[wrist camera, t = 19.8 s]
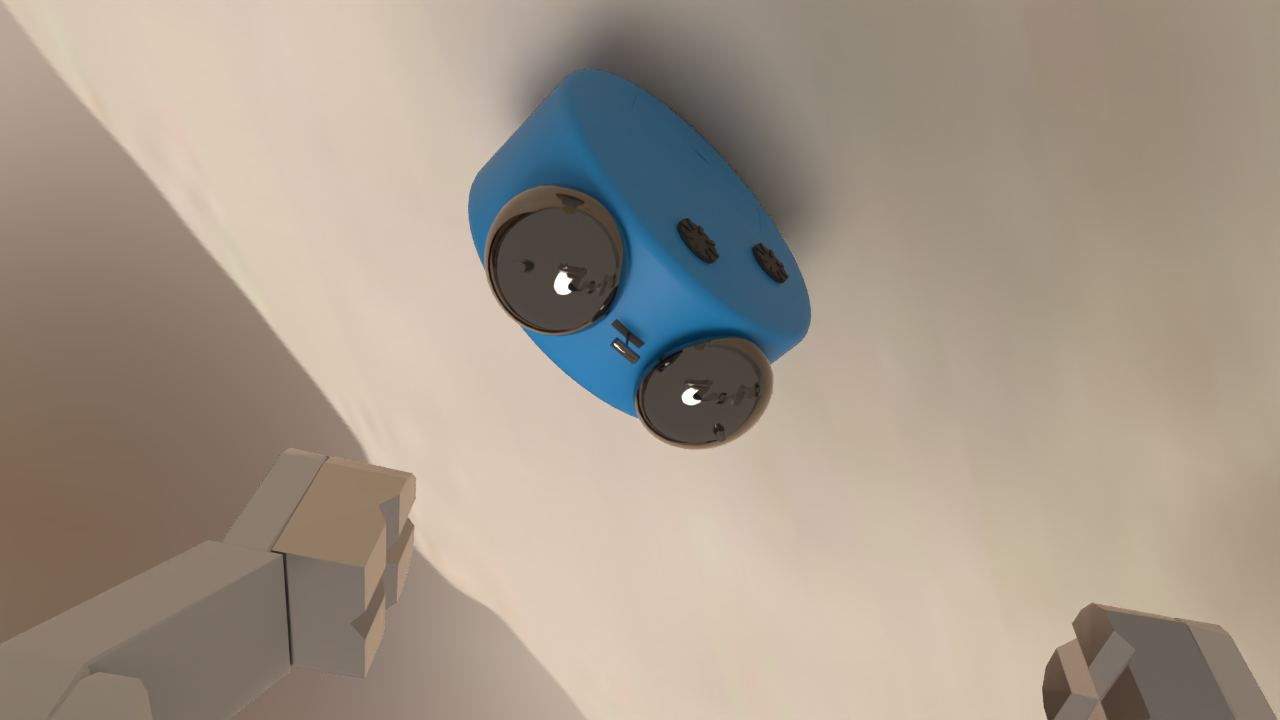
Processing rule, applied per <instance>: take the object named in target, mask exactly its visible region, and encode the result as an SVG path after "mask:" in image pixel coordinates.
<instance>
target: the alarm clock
mask: <svg viewBox="0 0 1280 720" xmlns="http://www.w3.org/2000/svg"><path fill="white" fill-rule="evenodd" d="M468 213H469V223H470V229H471V233H472V237H473V241H474V244H475V247H476V250H477V252H478V255H479V258H480V260H481V262H482V264H483V267H484V269H485V272H486V276H487V281H488V284H489V286H490V289H491V291H492V294H493V296H494V297H495V299H496V301H497V302H498V304H499V306H500V307H501V308H502V309H503V310H504V312H505V313H506V314H507V315H508V316H509V317H510V318H512V319H513V320H514V321H515V322H516V323H518V324H519V325H520V326H521V327H522V328H523V330H524V331H525V332H526V333H527V334H528V336H529V337H530V338H531V339H532V340H533V341H534V343H535V344H536V345H537V346H538V347H539V348H540V349H541V350H542V351H543V352H544V353H545V354H546V355H547V356H548V357H549V358H550V359H551V360H552V361H553V362H554V363H555V364H556V365H557V366H558V367H559V368H560V369H562V370H563V371H564V372H565V373H566V374H567V375H568V376H570V377H571V378H572V379H573V380H575V381H576V382H577V383H578V384H580V385H581V386H582V387H584V388H585V389H586V390H588V391H589V392H591V393H592V394H594V395H595V396H597V397H598V398H599V399H601V400H603V401H604V402H606V403H608V404H609V405H611V406H613V407H615V408H617V409H619V410H621V411H622V412H624V413H627V414H629V415H631V416H634V417H636V418H639V419H640V421H641V423H642V424H643V426H644V427H645V428H646V429H647V430H648V431H649V432H650V433H651V434H652V435H653V436H654V437H655V438H657V439H659V440H660V441H662V442H664V443H666V444H668V445H671V446H675V447H679V448H683V449H690V450H699V449H709V448H714V447H718V446H722V445H724V444H727V443H729V442H731V441H733V440H735V439H737V438H739V437H740V436H742V435H743V434H745V433H746V432H747V431H749V430H750V429H751V428H752V427H753V426H754V425H755V424H756V423H757V422H758V421H759V419H760V418H761V417H762V415H763V414H764V412H765V410H766V409H767V407H768V404H769V401H770V398H771V395H772V393H773V372H772V369H771V364H772V363H773V362H774V361H776V360H777V359H778V358H780V357H781V356H782V355H784V354H785V353H786V352H788V351H789V350H790V349H792V348H793V347H794V346H796V345H797V344H798V343H799V342H800V341H801V340H802V339H803V338H804V337H805V335H806V334H807V332H808V328H809V325H810V321H811V308H810V301H809V296H808V292H807V288H806V285H805V282H804V279H803V277H802V274H801V272H800V270H799V267H798V265H797V263H796V261H795V259H794V257H793V255H792V253H791V251H790V249H789V248H788V246H787V244H786V242H785V241H784V239H783V237H782V236H781V234H780V232H779V231H778V229H777V228H776V226H775V225H774V223H773V222H772V220H771V219H770V217H769V216H768V214H767V213H766V211H765V210H764V209H763V207H762V206H761V204H760V203H759V202H758V200H757V199H756V198H755V196H754V195H753V194H752V192H751V191H750V190H749V189H748V187H747V186H746V185H745V184H744V182H743V181H742V180H741V179H740V178H739V176H738V175H737V174H736V173H735V172H734V171H733V169H732V168H731V167H730V166H729V165H728V164H727V163H726V162H725V160H724V159H723V158H722V157H721V156H720V155H719V154H718V153H717V152H716V151H715V150H714V149H713V148H712V147H711V146H710V145H709V144H708V143H707V142H706V141H705V140H704V139H703V138H702V137H701V136H700V135H699V134H698V133H697V132H696V131H695V130H694V129H693V128H692V127H691V126H689V125H688V124H687V123H686V122H685V121H684V120H683V119H682V118H680V117H679V116H678V115H677V114H676V113H675V112H673V111H672V110H671V109H670V108H668V107H667V106H666V105H664V104H663V103H662V102H660V101H659V100H658V99H656V98H655V97H654V96H652V95H651V94H649V93H648V92H646V91H645V90H643V89H642V88H640V87H638V86H637V85H635V84H633V83H631V82H629V81H628V80H626V79H623V78H621V77H619V76H617V75H614V74H611V73H608V72H605V71H601V70H596V69H583V70H578V71H575V72H573V73H571V74H570V75H568V76H567V77H566V78H564V80H563V81H562V82H561V83H560V84H559V85H558V86H557V87H556V88H555V89H554V90H553V92H552V93H551V94H550V95H549V96H548V97H547V98H546V99H545V100H544V101H543V102H542V103H541V105H540V106H539V107H538V108H537V109H536V110H535V111H534V112H533V113H532V114H531V115H530V117H529V118H528V119H527V120H526V121H525V122H524V123H523V124H522V125H521V126H520V127H519V128H518V130H517V131H516V132H515V133H514V134H513V135H512V136H511V137H510V138H509V139H508V140H507V142H506V143H505V144H504V145H503V146H502V147H501V148H500V149H499V150H498V151H497V152H496V153H495V155H494V156H493V157H492V158H491V159H490V160H489V161H488V162H487V163H486V164H485V165H484V167H483V168H482V169H481V170H480V171H479V173H478V174H477V176H476V178H475V179H474V181H473V183H472V186H471V190H470V193H469V205H468Z"/></svg>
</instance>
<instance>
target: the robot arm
mask: <svg viewBox="0 0 1280 720" xmlns="http://www.w3.org/2000/svg"><path fill="white" fill-rule="evenodd" d="M415 499H416V477H415V476H414V475H413V474H412V473H409V472H404V471H399V470H395V469H390V468H385V467H381V466H376V465H371V464H367V463H362V462H357V461H353V460H348V459H343V458H339V457H334V456H331V457H329V456H325V455H320V454H315V453H311V452H307V451H302V450H298V449H293V448H289V449H288V450H286V451H285V452H283V453H282V454H281V455H279V457H278V458H277V460H276V461H275V463H274V464H273V466H272V467H271V468H270V470H269V471H268V473H267V474H266V476H265V477H264V479H263V480H262V482H261V483H260V485H259V486H258V488H257V489H256V491H255V492H254V494H253V495H252V497H251V498H250V500H249V501H248V503H247V504H246V506H245V507H244V508H243V510H242V512H241V513H240V514H239V516H238V517H237V519H236V520H235V522H234V523H233V525H232V526H231V528H230V529H229V531H228V532H227V534H226V535H225V537H224V538H223V540H222V541H221V542H214V541H209V540H207V541H205V542H203V543H201V544H200V545H197V546H195V547H193V548H191V549H189V550H187V551H185V552H183V553H181V554H179V555H178V556H175V557H173V558H172V559H169V560H167V561H165V562H163V563H162V564H160V565H157V566H156V567H154V568H152V569H150V570H148V571H146V572H144V573H142V574H140V575H138V576H136V577H134V578H132V579H130V580H128V581H126V582H124V583H122V584H120V585H118V586H116V587H114V588H112V589H110V590H108V591H106V592H104V593H102V594H100V595H98V596H96V597H94V598H92V599H90V600H88V601H86V602H84V603H82V604H80V605H78V606H76V607H74V608H72V609H70V610H68V611H66V612H64V613H62V614H60V615H58V616H56V617H54V618H52V619H50V620H48V621H46V622H44V623H42V624H40V625H38V626H36V627H34V628H32V629H30V630H28V631H26V632H24V633H22V634H20V635H18V636H16V637H14V638H12V639H10V640H8V641H6V642H4V643H2V644H0V720H229V719H230V718H231V717H233V716H234V715H235V714H237V713H238V712H239V711H240V710H242V709H243V708H244V707H246V706H247V705H248V704H249V703H251V702H252V701H253V700H254V699H256V698H257V697H258V696H260V695H261V694H262V693H263V692H264V691H266V690H267V689H268V688H270V687H271V686H272V685H274V684H275V683H276V682H277V681H279V680H280V679H281V678H282V677H284V676H285V675H286V674H288V673H289V672H290V667H296V668H303V669H309V670H315V671H321V672H328V673H333V674H339V675H346V676H352V677H358V678H365V677H366V674H367V672H368V670H369V667H370V665H371V662H372V660H373V658H374V655H375V653H376V651H377V648H378V646H379V643H380V641H381V639H382V637H383V634H384V625H385V610H386V609H387V608H389V607H390V606H392V605H393V604H395V603H396V602H397V600H398V598H399V595H400V593H401V590H402V588H403V585H404V582H405V579H406V575H407V572H408V568H409V564H410V560H411V554H412V549H413V542H414V525H413V523H412V522H411V521H410V519H409V518H408V515H409V513H410V510H411V508H412V506H413V503H414V501H415ZM1072 625H1073V628H1074V631H1075V634H1076V637H1077V638H1076V639H1074V640H1072V641H1070V642H1068V643H1066V644H1064V645H1062V646H1060V647H1058V648H1056V650H1055V652H1054V653H1053V655H1052V657H1051V659H1050V661H1049V662H1048V664H1047V666H1046V669H1045V675H1044V681H1043V687H1042V692H1043V703H1044V709H1045V713H1046V716H1047V720H1277V718H1276V716H1275V714H1274V713H1273V711H1272V709H1271V707H1270V705H1269V704H1268V702H1267V700H1266V698H1265V696H1264V695H1263V693H1262V691H1261V689H1260V687H1259V686H1258V684H1257V682H1256V680H1255V678H1254V677H1253V675H1252V673H1251V671H1250V670H1249V668H1248V666H1247V664H1246V662H1245V661H1244V659H1243V657H1242V655H1241V653H1240V652H1239V650H1238V648H1237V646H1236V644H1235V643H1234V641H1233V639H1232V637H1231V636H1230V634H1229V633H1228V632H1226V631H1225V630H1224V629H1223V628H1222V627H1220V626H1219V625H1214V624H1209V623H1203V622H1197V621H1191V620H1186V619H1180V618H1171V617H1167V616H1161V615H1156V614H1150V613H1145V612H1139V611H1134V610H1128V609H1123V608H1117V607H1112V606H1106V605H1101V604H1095V603H1091V604H1089V605H1088V606H1086V607H1085V608H1083V609H1081V611H1080V612H1079V614H1078V615H1077V617H1076V618H1075V620H1074V621H1073V623H1072Z"/></svg>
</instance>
